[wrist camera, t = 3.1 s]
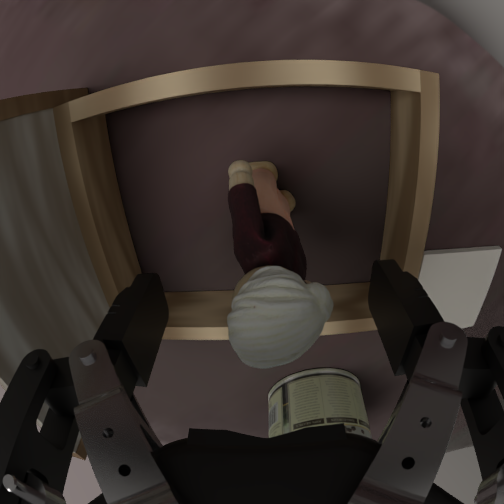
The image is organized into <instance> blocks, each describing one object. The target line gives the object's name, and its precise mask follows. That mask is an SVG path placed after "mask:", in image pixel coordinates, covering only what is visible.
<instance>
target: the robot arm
mask: <svg viewBox="0 0 504 504" xmlns="http://www.w3.org/2000/svg"><path fill="white" fill-rule="evenodd" d="M368 305H369V310H370V312H371V315H372V317H373V320H374V322H375V325H376V327H377V330H378V332H379V335H380V337H381V340H382V343H383V345H384V348H385V351H386V353H387V356H388V359H389V361H390V364H391V367H392V370H393V372H394V375H395V376H398V375H403V374H406V376H407V379H408V380H407V382H406V384H405V386H404V389H403V391H402V393H401V395H400V398H399V400H398V402H397V404H396V406H395V408H394V410H393V413H392V415H391V417H390V419H389V421H388V423H387V425H386V427H385V428H384V430H383V432H382V434H381V435H380V437H379V439H378V441H375V440H373V439H371V438H368V437H366V436H362V435H359V434H354V433H346V432H345V426H344V423H340V424H332V425H324V426H315V427H306V428H302V429H299V430H296V431H292V432H289V433H286V434H282V435H278V436H275V437H271V438H260V437H255V436H250V435H245V434H241V433H237V432H232V431H228V430H210V429H192V428H189V434H188V438H185V439H181V440H177V441H174V442H171V443H168V444H166V445H164V446H163V445H162V444H161V442H160V441H159V439H158V438H157V436H156V435H155V433H154V431H153V430H152V428H151V426H150V424H149V422H148V420H147V418H146V417H145V415H144V413H143V411H142V409H141V407H140V405H139V403H138V401H137V399H136V397H135V395H134V394H133V391H134V388H135V386H143V387H147V384H148V381H149V378H150V375H151V371H152V368H153V365H154V362H155V359H156V356H157V353H158V349H159V346H160V343H161V340H162V337H163V334H164V331H165V328H166V325H167V322H168V319H169V308H168V304H167V300H166V297H165V294H164V291H163V287H162V284H161V281H160V278H159V275H158V274H157V273H147V274H137V275H136V277H135V279H134V281H133V282H132V284H131V286H130V287H126V288H125V289H124V290H123V291H121V292H120V293H119V294H118V295H117V296H116V298H115V300H114V302H113V303H112V306H111V307H110V309H109V310H108V314H106V316H105V317H104V319H103V321H102V323H101V325H100V327H99V328H98V330H97V332H96V334H95V336H94V338H93V340H87V341H84V342H82V343H80V344H79V345H77V346H76V347H75V348H74V349H73V350H72V352H71V354H70V356H69V357H64V358H58V359H52V357H51V356H50V354H49V353H48V352H47V351H46V350H44V349H36V350H33V351H31V352H30V353H28V354H27V355H26V356H25V357H24V358H23V360H22V361H21V363H20V365H19V367H18V368H17V370H16V372H15V374H14V376H13V378H12V380H11V382H10V384H9V386H8V388H7V390H6V392H5V394H4V396H3V398H2V400H1V402H0V504H66V501H65V499H64V497H63V490H64V485H65V482H66V477H67V473H68V469H69V466H70V462H71V458H72V454H73V451H74V447H75V444H76V440H77V437H78V434H79V431H80V434H81V437H82V441H83V444H84V447H85V449H86V452H87V455H88V458H89V461H90V463H91V466H92V469H93V471H94V474H95V476H96V479H97V481H98V483H99V486H100V488H101V491H102V494H100V495H99V496H98V497H96V498H95V499H94V500H92V501H91V502H90V503H88V504H464V503H462V502H461V501H459V500H458V499H456V498H455V497H453V496H452V495H450V494H449V493H447V492H446V491H444V490H443V489H442V488H440V487H439V486H437V485H436V484H435V483H433V481H434V479H435V477H436V474H437V472H438V469H439V467H440V465H441V462H442V459H443V457H444V454H445V451H446V449H447V446H448V443H449V440H450V437H451V434H452V431H453V428H454V424H455V421H456V417H457V414H458V410H459V407H460V404H461V407H462V410H463V413H464V416H465V419H466V422H467V425H468V428H469V431H470V435H471V438H472V441H473V445H474V448H475V452H476V455H477V459H478V463H479V467H480V471H481V476H482V480H483V481H482V482H481V484H480V486H479V488H478V492H477V495H476V497H475V499H474V503H475V504H504V411H503V408H502V406H501V403H500V401H499V398H498V396H497V393H496V391H495V389H494V388H495V387H496V386H497V385H498V387H499V390H500V392H501V394H502V397H503V399H504V327H502V326H497V327H493V328H492V329H491V330H490V331H489V333H488V335H487V337H486V338H474V337H467V336H466V334H465V332H464V331H463V330H462V329H461V328H460V327H459V326H457V325H455V324H453V323H450V322H445V321H444V320H443V318H442V316H441V315H440V313H439V311H438V310H437V308H436V307H435V305H434V303H433V302H432V300H431V299H430V297H428V294H427V293H426V291H425V290H424V289H423V287H422V285H421V284H420V282H419V281H418V279H417V278H416V277H414V276H413V275H412V274H410V273H409V272H408V271H404V272H403V271H402V270H401V268H400V267H399V265H398V264H397V262H396V261H395V260H394V259H389V260H376V261H374V263H373V267H372V274H371V280H370V286H369V292H368ZM44 402H45V403H46V404H47V405H48V406H49V409H48V411H47V414H46V417H45V419H44V422H43V425H42V427H41V430H40V433H39V432H38V430H37V426H36V422H37V418H38V416H39V413H40V411H41V408H42V406H43V403H44Z"/></svg>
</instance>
